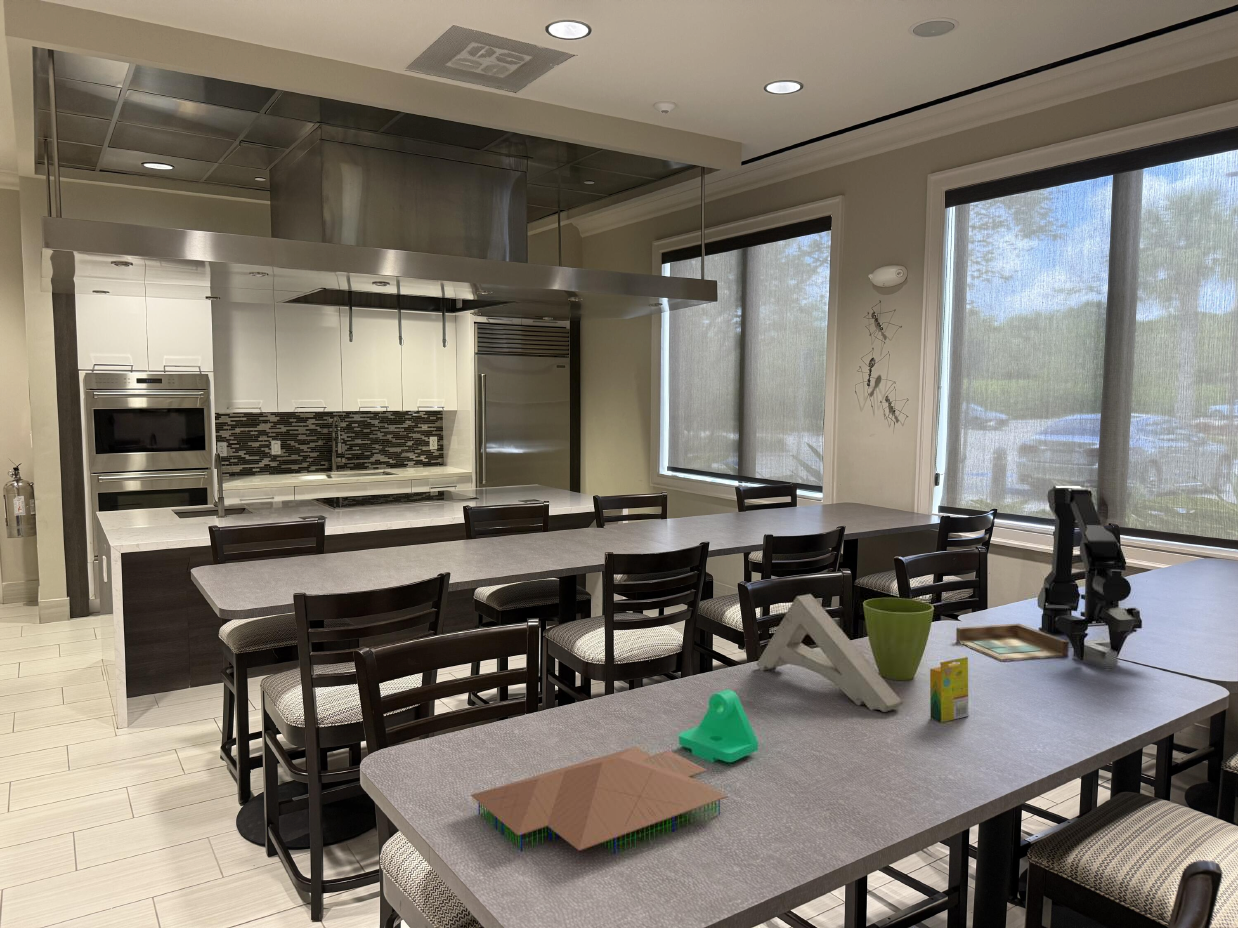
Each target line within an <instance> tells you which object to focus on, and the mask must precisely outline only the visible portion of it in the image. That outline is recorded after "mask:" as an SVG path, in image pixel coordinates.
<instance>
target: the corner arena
mask: <svg viewBox="0 0 1238 928" xmlns="http://www.w3.org/2000/svg"><path fill="white" fill-rule="evenodd" d="M955 634H956V635H955V641H957V642H956V643H958V642H959V644H961V643H962V644H961V645H963V644H964V645H963V646H965V645H967V646H969V647H968V648H970V647H971V648H970V649H972V648H974V649H975V650H974V649H973V650H974V651H977V650H978V651H977V652H979V651H980V652H979V653H981V652H982V653H981V654H983V653H984V655H986V656H988V655H989V656H988V657H990V656H991V658H992V657H994V658H993V659H995V658H996V659H995V660H997V661H999V660H1001V661H1000V662H1008V661H1007V660H1014V661H1022V659H1027V660H1033V659H1032V658H1040V659H1048V658H1047V657H1053V658H1061V657H1069V652H1070V651H1069V649H1070V648H1069V647H1070V646H1069V645H1070V641H1069V640H1067V639H1066V640H1065V639H1064V638H1060V637H1057V636H1056V635H1053V634H1050V633H1047V632H1044V631H1041V630H1039V629H1035V628H1032V627H1030V626H1027V625H1023V624H1021V623H1008V624H993V625H992V624H991V625H979V626H978V625H976V626H962V627H956V630H955ZM967 646H966V647H967ZM1045 657H1046V658H1045Z"/></svg>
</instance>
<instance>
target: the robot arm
mask: <svg viewBox="0 0 1238 928" xmlns="http://www.w3.org/2000/svg"><path fill="white" fill-rule="evenodd" d="M1046 496H1047V502H1048V508H1049V509H1050V511H1051V513H1052V514H1053V516H1054V533H1053V546H1052V547H1053V548H1052V560H1051V561H1052V562H1051V571H1050V572H1049V573H1048V574H1047V576H1045V577H1044V579H1043V587H1041V590H1040V592H1039V593H1038V597H1037V600H1036V601H1037V607H1038V608H1039V609H1040V610H1042V614H1041V627H1038V631H1041V632H1044V633H1047V634H1049V635H1052V636H1063V635H1065V636H1066V638H1067V639H1068V640H1067V641H1069V644H1070V645H1071V647H1072V649H1074V652H1075V654H1076V656H1077V658H1078V659H1077V660H1079V661H1082V660H1083V657H1084V640H1086V638H1087V637H1088V636H1089V633H1088V632H1087V631H1088V629H1089V628H1091V627H1105V626H1106V627H1107V629H1108V639H1109V640H1110V646H1111V650H1114V651H1117V658H1118V657H1119V655H1120V653H1121V650H1122V648H1123V646H1124V644H1125V642H1126V640H1127V638H1128V636H1130V635H1132V634H1134V633H1137V632H1138V630H1139V629H1142V628H1143V619H1142V618H1141V613H1140V610H1139V609H1138V608H1137V607H1128V608H1126V607H1123V608H1121V607H1120V604H1119V602H1122V601H1124V600H1126V599H1127V598H1128V597H1129V596H1130V594H1131V592H1132V586H1131V583H1130V582H1129V580H1128V579H1126V578H1125V577H1124V576H1122V572H1124V571H1126V570H1127V569H1126V568H1127V567H1126V565H1127V560H1126V558H1125V555H1124V552H1123V550H1122V548H1121V545H1120V544H1119V543H1118V541H1117V539H1116V538H1115V536H1114V534H1113V533H1112V532H1110V530H1109V531H1108V530H1107V529H1105V527H1104V526H1103V522H1102V521H1101V519H1100V516H1099V513H1098V511H1097V509H1096V507H1095V504H1094V503H1095V502H1093V494H1092V490H1091V489H1090V488H1088V487H1081V486H1080V485H1054V486H1052V488H1050V489H1049V490H1048V491H1047V495H1046ZM1076 523H1077V526H1078V529H1079V532H1080V535H1081V537H1082V538H1081V541H1080V544H1079V555H1080V558H1081V560H1082V563H1083V565H1084V569H1085V571H1084V573H1085V575H1084V576H1085V577H1084V578H1085V579H1084V580H1085V581H1084V594H1082V593H1080V591H1079V585H1078V583H1077V582H1076V580H1075V579H1074V577H1073V560H1074V558H1073V557H1074V549H1075V548H1074V546H1075V545H1074V544H1075V535H1076V533H1075V532H1076V531H1075V530H1076ZM1080 599H1081V600H1084V611H1080V617H1078V616H1076V615H1073V614H1072V612H1078V609H1079V606H1080V605H1079V604H1080ZM1082 617H1083V618H1082ZM1082 662H1083V661H1082Z"/></svg>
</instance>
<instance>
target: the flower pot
mask: <svg viewBox="0 0 1238 928" xmlns="http://www.w3.org/2000/svg"><path fill="white" fill-rule="evenodd" d="M862 606H863V612H864V614H863V615H864V620H865V626H866V627H865V628H866V632H867V637H868V641H869V645H870V649H871V653H872V655H873V659H874V662H875V665H876V668H877V670H878V671H877V672H878V674H879V675H880V676H881V677H882V678H885V679H889V680H893V681H894V680H895V681H896V680H897V681H908V680H909V681H910V680H912V679H914V678H915V676H916V673H917V671H918V669H919V666H920V663H921V661H922V658H923V656H924V654H925V649H926V646H927V642H928V640H929V635H930V632H931V627H932V622H933V617H934V616H933V615H934V609H935V608H934V606H933V605H932V604H931V603H928V602H925V601H921V600H917V599H913V598H912V599H911V598H903V597H902V598H901V597H878V598H871V599H867V600H864V602H862Z"/></svg>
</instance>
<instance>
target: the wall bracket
mask: <svg viewBox="0 0 1238 928" xmlns="http://www.w3.org/2000/svg"><path fill="white" fill-rule="evenodd" d="M807 634H808V635H809V636H810V637H811V639H812V641H814V643H815V644H816V645H817V646H818V647H819V649H820V650H821V651H822V652H823V653H822V652H820V651H818V650H816V649H813V648H812V647H809V646H807V645H805V644H804V643H802V641H803V640H804V638H805V636H806V635H807ZM786 665H793V666H798V667H802V668H804V669H807V670H809V671H812V672H815V673H817V674H819V675H820V676H822V677H824V678H826V679H827V680H828V681H830V683H833V684H834V685H835V686H836V687H838V688H839V689H840V690H841V691H842V692H843V693H845V695H846V696H847V697H848V698H850V700H852V701H853V703H854V704H855V705H857V706H862V705H866V707H867V708H868V709H869V710H872V711H873V710H880V711H881V712H882V713H886V712H888V711H889V712H890V711H892V710H896V709H899V708H900V706H901V705H902V704H903V701H902V700H901V698H900V697H899V696H898V694H896V692H895V691H894V690H893V689H892V688H891V686H890V685H889V683H887V682H886V681H885V679H884V677H883V676H881V675H880V673H879V671H877V670H876V669H875V668H874V666H873V665H872V664H871V663H870V661H868V660H867V658H866V657H865V655H863V653H862V652H861V651H860V649H858V647H857V646H856V645H855V644H854V643H853V641H852V640H851V639H849V637H848V636H847V634H846V633H845V632H844V631H843V630H842V629H841V628H840V626H838V624H837V623H836V622H835V621H834V619H833V618H832V617H831V616H830V615H829V614H828V612H827V611H826V610H825V608H823V606H822V605H821V604H820V603H819V602H818V601H817V599H816V598H815V597H814V596H813V595H812V594H811V593H807V594H803V595H797V596H795V598H794V600H793V602H792V603H791V605H790V607H789V608H788V609H787V611H786V613H785V615H784V617H783V618H782V620H781V621H780V623H779V625H778V627H777V629H776V630H775V632H774V633H773V635H772V637H771V639H770V640H769V642H768V643H767V646H766V647H765V649H764V650H763V652H762V654H761V656H760V657H759V659H758V661H756V666H757V667H758V669H759V670H760V671H761V672H764V671H767V670H772V669H776V668H777V667H783V666H786Z"/></svg>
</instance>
